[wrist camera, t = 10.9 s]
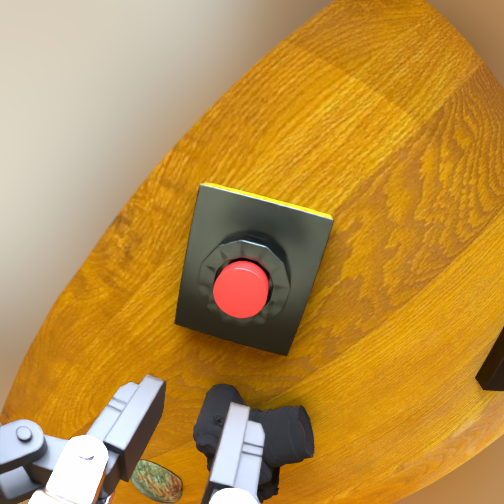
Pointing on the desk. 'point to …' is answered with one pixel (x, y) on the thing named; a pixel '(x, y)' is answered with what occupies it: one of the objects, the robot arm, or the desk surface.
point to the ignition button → (241, 289)
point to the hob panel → (493, 367)
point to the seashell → (156, 482)
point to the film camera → (274, 426)
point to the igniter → (258, 252)
